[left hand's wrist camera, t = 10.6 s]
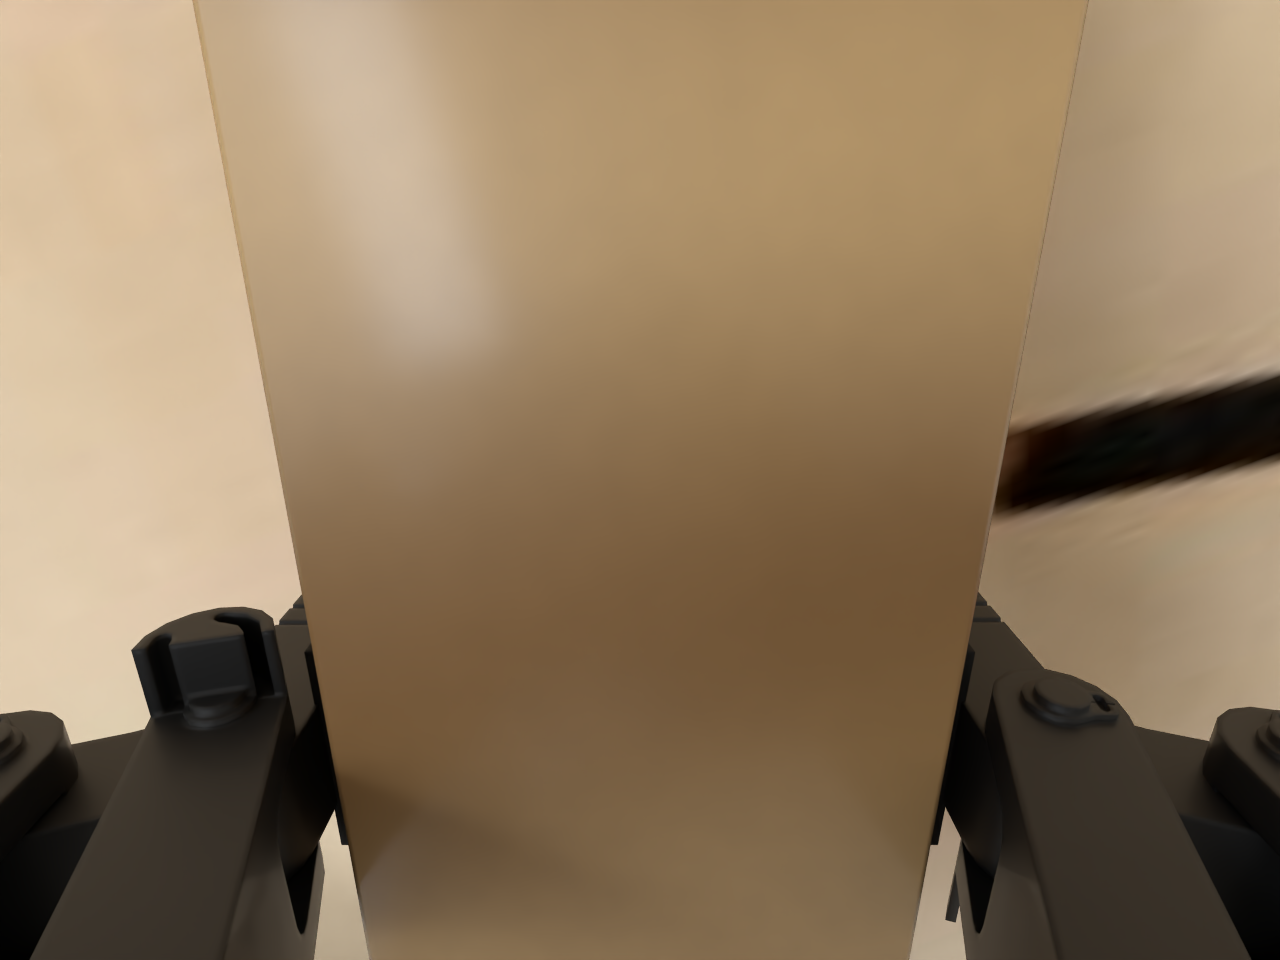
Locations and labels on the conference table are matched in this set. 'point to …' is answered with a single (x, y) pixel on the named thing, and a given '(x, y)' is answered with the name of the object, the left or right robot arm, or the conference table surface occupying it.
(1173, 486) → the conference table surface
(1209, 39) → the conference table surface
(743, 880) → the post
